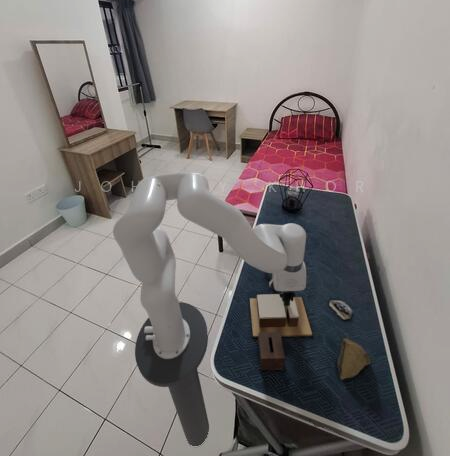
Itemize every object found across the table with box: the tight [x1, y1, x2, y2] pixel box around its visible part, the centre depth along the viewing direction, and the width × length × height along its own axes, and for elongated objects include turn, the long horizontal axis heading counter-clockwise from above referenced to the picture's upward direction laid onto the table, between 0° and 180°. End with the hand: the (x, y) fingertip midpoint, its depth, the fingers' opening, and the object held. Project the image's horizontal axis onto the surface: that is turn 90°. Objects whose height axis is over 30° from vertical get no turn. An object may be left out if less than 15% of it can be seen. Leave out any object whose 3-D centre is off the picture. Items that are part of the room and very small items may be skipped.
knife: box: [283, 291, 291, 316], centre depth 83 cm, size 2×3×14 cm, turn 173°
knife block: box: [257, 332, 286, 371], centre depth 75 cm, size 7×7×7 cm
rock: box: [337, 338, 371, 381], centre depth 71 cm, size 11×9×10 cm
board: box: [249, 296, 313, 338], centre depth 87 cm, size 20×13×1 cm, turn 90°
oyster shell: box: [328, 299, 354, 320], centre depth 88 cm, size 7×8×2 cm
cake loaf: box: [256, 293, 286, 327], centre depth 85 cm, size 9×8×6 cm
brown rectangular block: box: [284, 299, 299, 327], centre depth 85 cm, size 3×8×6 cm, turn 0°
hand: (286, 296), depth 82 cm, fingers closed on knife, 2 cm apart
